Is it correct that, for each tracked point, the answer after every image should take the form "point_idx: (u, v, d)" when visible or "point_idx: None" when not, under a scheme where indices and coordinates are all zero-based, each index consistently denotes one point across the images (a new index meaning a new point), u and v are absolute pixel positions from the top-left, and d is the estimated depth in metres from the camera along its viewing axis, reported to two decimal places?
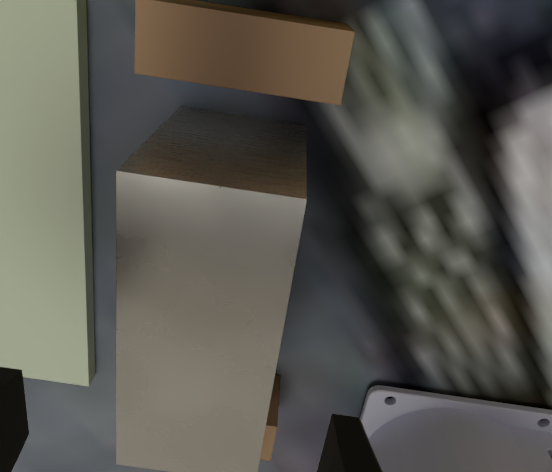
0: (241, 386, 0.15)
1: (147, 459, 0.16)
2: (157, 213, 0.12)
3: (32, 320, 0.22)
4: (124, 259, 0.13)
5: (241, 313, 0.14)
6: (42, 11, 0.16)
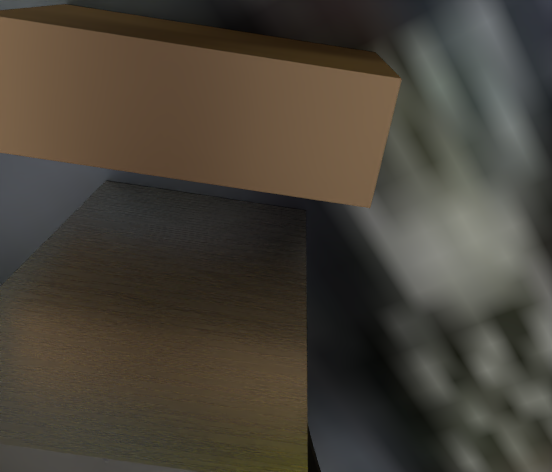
0: None
1: None
2: None
3: None
4: None
5: None
6: None
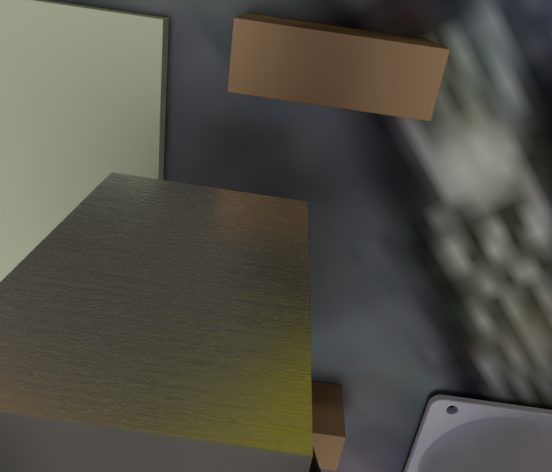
0: None
1: None
2: None
3: None
4: None
5: None
6: (128, 30, 0.16)
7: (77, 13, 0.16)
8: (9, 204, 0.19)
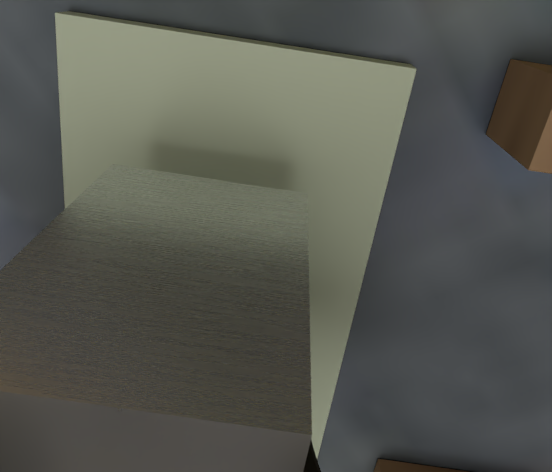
0: None
1: None
2: None
3: None
4: None
5: None
6: (369, 81, 0.13)
7: (306, 60, 0.13)
8: None
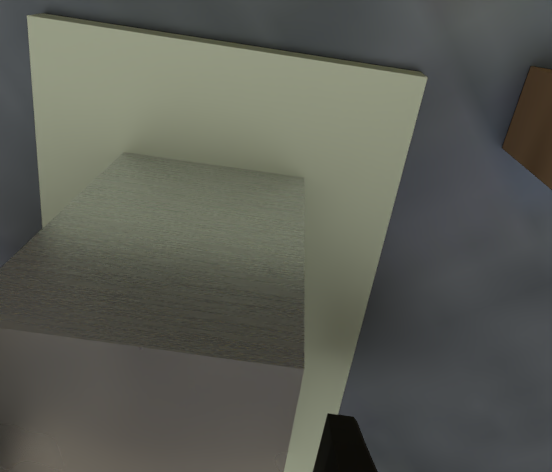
0: None
1: None
2: (32, 388, 0.07)
3: None
4: None
5: None
6: (375, 91, 0.12)
7: (305, 67, 0.11)
8: None
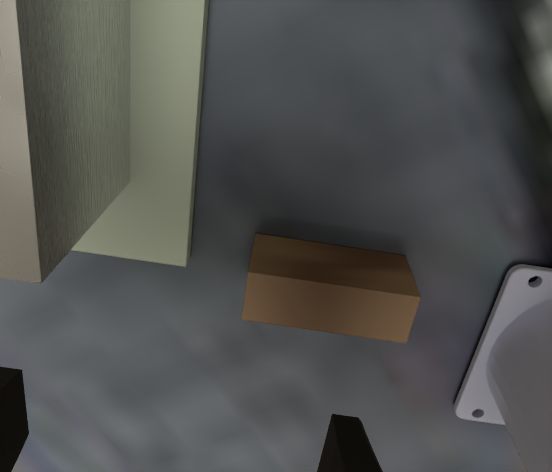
0: None
1: None
2: None
3: None
4: None
5: None
6: None
7: None
8: None
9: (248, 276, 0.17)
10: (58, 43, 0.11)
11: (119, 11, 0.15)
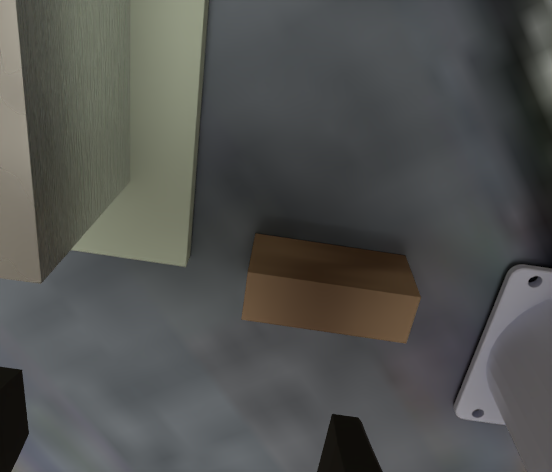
0: None
1: None
2: None
3: None
4: None
5: None
6: None
7: None
8: None
9: (248, 276, 0.17)
10: (58, 43, 0.11)
11: (119, 11, 0.15)
